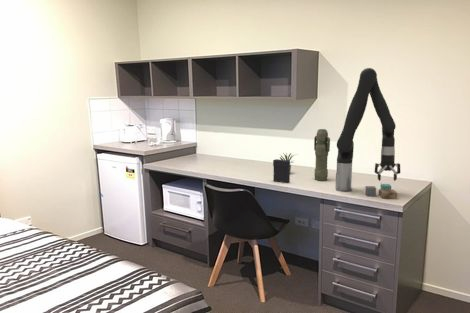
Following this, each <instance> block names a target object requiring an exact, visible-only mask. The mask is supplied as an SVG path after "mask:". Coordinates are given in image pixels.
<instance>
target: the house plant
mask: <svg viewBox="0 0 470 313" xmlns="http://www.w3.org/2000/svg"><path fill="white" fill-rule="evenodd" d="M285 153H286V154H285ZM285 153H284V152H283V153H282V154H283V155H281V154H279V153H278V154H279V160H288V161H290V172H291V170H292V165H291V164H293V163H295V161H293V160H292V158H293V157H294V156H297V155H298V153H297V154H294V155H293V154H292V153H291V152H290V153H289V154H288V153H287V152H285ZM298 156H299V155H298Z"/></svg>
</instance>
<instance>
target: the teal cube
mask: <svg viewBox="0 0 470 313" xmlns="http://www.w3.org/2000/svg"><path fill="white" fill-rule="evenodd" d="M379 189H392V185H391V184H390V183H380V188H379Z"/></svg>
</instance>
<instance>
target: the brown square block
mask: <svg viewBox="0 0 470 313" xmlns="http://www.w3.org/2000/svg"><path fill="white" fill-rule="evenodd" d="M378 196H379V197H380V198H381V199H382V200H398V192H397V191H396V190H394V189H392V188H391V189H380V188H379V189H378Z"/></svg>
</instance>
